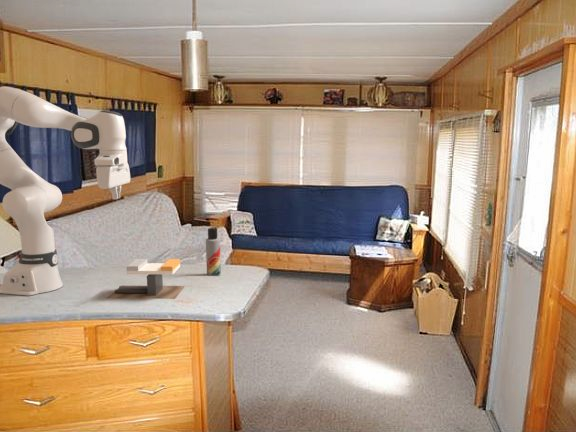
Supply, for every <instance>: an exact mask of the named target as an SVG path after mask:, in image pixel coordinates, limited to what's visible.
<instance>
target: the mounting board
mask: <svg viewBox="0 0 576 432" xmlns="http://www.w3.org/2000/svg"><path fill="white" fill-rule="evenodd" d="M121 286H127V284H126V285H124V284H123V285H121ZM185 287H186V285H163V289H162V290H161V291H160V292H159V293H158V294H157V295H156V296H148V294H121V293H115V290H114V291H113V292H112V293H111V294H110V295H108V296H106V299H144V300H146V299H148V300H149V299H151V300H152V299H154V300H155V299H156V300H157V299H160V300H163V299H165V300H166V299H167V300H168V299H169V300H175V299H177V297H178V296H179V295H180V294H181V292H182V291H183V290H184V289H185ZM117 289H119V287H118V288H117Z"/></svg>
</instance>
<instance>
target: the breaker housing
mask: <svg viewBox="0 0 576 432" xmlns="http://www.w3.org/2000/svg"><path fill="white" fill-rule="evenodd" d="M146 275H147V276H146V286H147V291H148V296H156V295H157V294H158V293H159V292H160V291H161V290H162V289H163V286H164V284H163V283H164V282H163V274H146Z"/></svg>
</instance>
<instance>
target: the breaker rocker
mask: <svg viewBox="0 0 576 432" xmlns="http://www.w3.org/2000/svg"><path fill="white" fill-rule="evenodd" d="M179 268H181V259H180V258H169V259H167V260H166V261H165V262H163V263H161V262H159V263H157V262H156V263H155V262H151V263H150V262H149V261H148V258H135V259H134V260H133V261H131V263H129V264H128V265H126V274H127V275H149V274H162V275H174V274H175V273H176V272H177V271H178V270H179Z"/></svg>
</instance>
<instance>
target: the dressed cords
mask: <svg viewBox="0 0 576 432" xmlns="http://www.w3.org/2000/svg"><path fill="white" fill-rule="evenodd" d="M118 288H119V289H118ZM118 288H117V289H114V291H115V293H121V294H148V291H147V285H126V286H122V285H119V286H118Z"/></svg>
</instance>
